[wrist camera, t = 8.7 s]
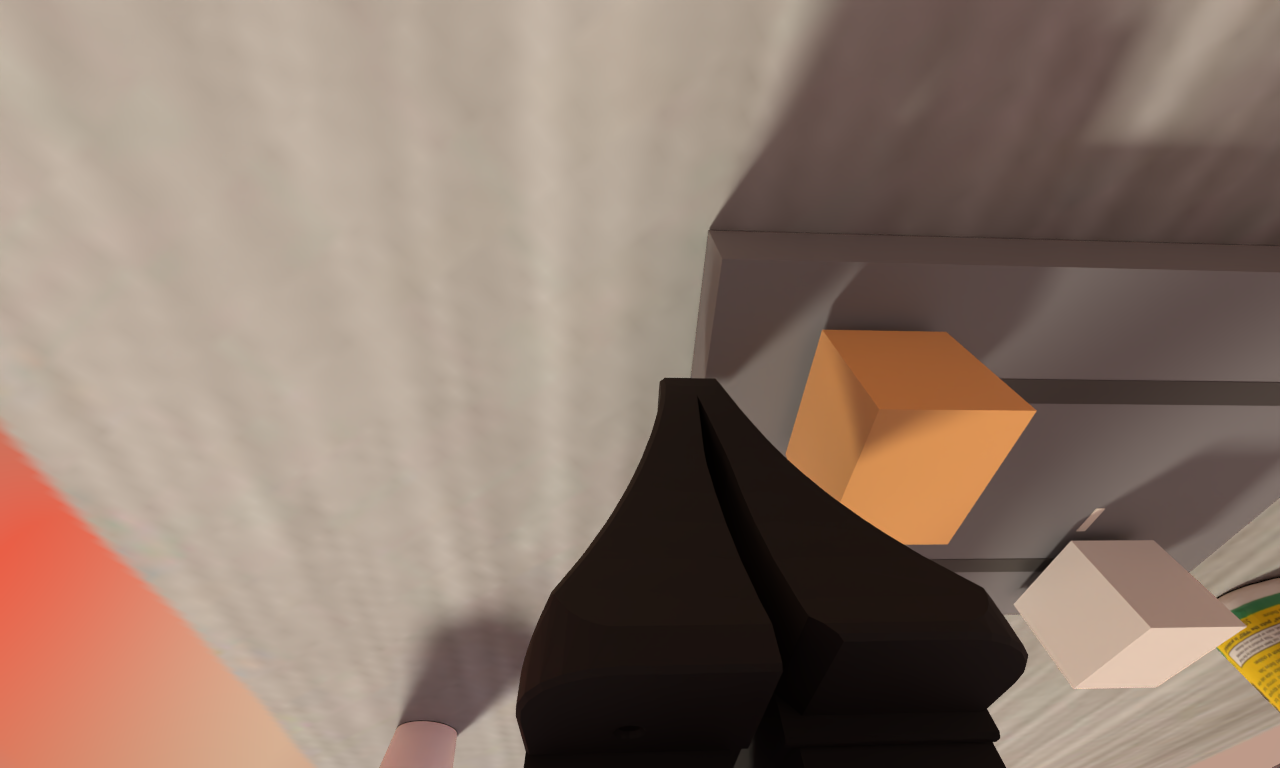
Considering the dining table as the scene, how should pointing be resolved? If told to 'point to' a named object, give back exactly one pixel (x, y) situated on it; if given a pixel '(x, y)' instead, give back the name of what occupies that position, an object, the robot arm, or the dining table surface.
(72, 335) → the dining table surface
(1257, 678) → the supplement bottle
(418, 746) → the smoothie
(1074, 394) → the fader console
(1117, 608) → the off white fader
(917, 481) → the block
